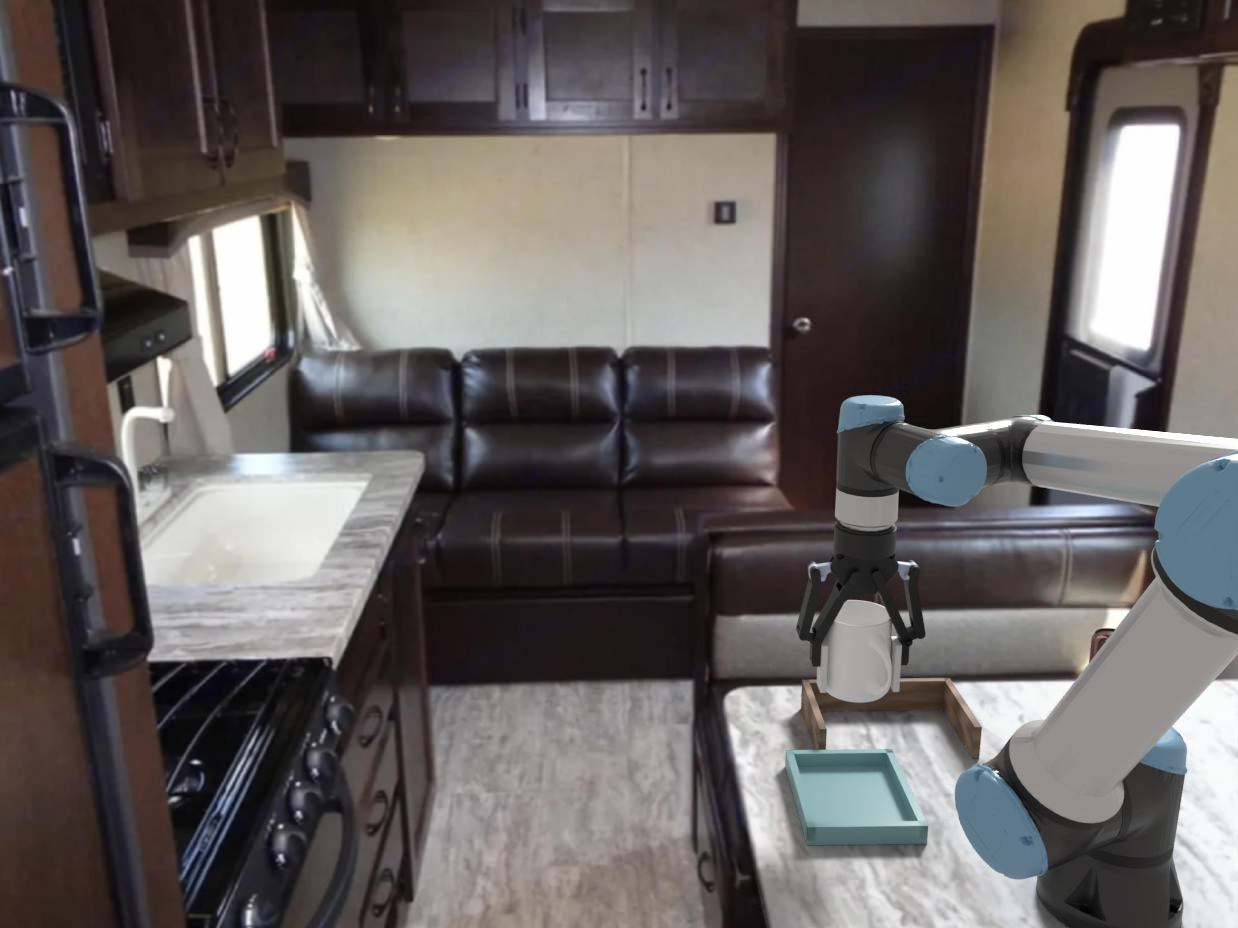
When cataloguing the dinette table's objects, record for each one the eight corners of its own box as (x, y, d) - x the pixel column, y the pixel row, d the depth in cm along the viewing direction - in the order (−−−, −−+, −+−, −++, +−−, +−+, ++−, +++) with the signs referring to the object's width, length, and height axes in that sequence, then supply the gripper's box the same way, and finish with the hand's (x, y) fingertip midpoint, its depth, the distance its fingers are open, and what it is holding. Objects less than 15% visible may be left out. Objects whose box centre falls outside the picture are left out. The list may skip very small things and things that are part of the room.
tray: (927, 843, 130) (928, 825, 129) (807, 845, 130) (807, 826, 129) (890, 764, 147) (891, 748, 146) (785, 766, 147) (785, 750, 146)
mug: (857, 722, 127) (861, 641, 124) (809, 679, 138) (811, 605, 135) (917, 709, 130) (922, 630, 127) (865, 669, 141) (868, 595, 138)
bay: (979, 758, 148) (981, 726, 147) (818, 760, 148) (819, 728, 147) (947, 706, 163) (949, 677, 161) (801, 708, 163) (802, 679, 162)
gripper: (943, 510, 131) (932, 672, 137) (774, 513, 131) (770, 674, 137) (962, 529, 124) (949, 700, 130) (783, 532, 124) (778, 702, 130)
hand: (857, 687), depth 134 cm, fingers closed on mug, 9 cm apart
